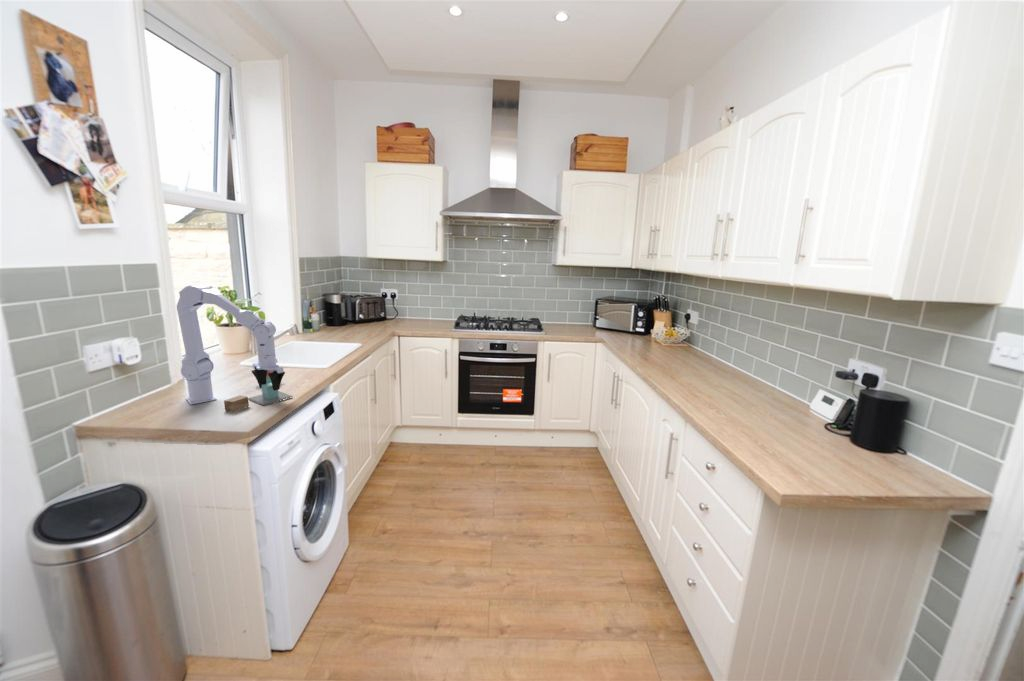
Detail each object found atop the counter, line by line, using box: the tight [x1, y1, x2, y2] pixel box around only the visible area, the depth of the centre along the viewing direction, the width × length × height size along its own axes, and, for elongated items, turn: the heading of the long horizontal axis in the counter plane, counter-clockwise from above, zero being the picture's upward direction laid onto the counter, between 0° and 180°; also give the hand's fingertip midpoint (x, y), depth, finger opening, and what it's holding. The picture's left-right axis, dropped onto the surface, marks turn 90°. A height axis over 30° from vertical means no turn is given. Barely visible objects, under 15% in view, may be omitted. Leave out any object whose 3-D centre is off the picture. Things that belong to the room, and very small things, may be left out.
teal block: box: [261, 383, 279, 399], centre depth 157 cm, size 4×4×5 cm
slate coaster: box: [248, 390, 293, 406], centre depth 158 cm, size 11×11×1 cm
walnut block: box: [223, 394, 250, 413], centre depth 147 cm, size 4×6×4 cm, turn 162°
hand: (269, 388), depth 157 cm, fingers open, 7 cm apart
